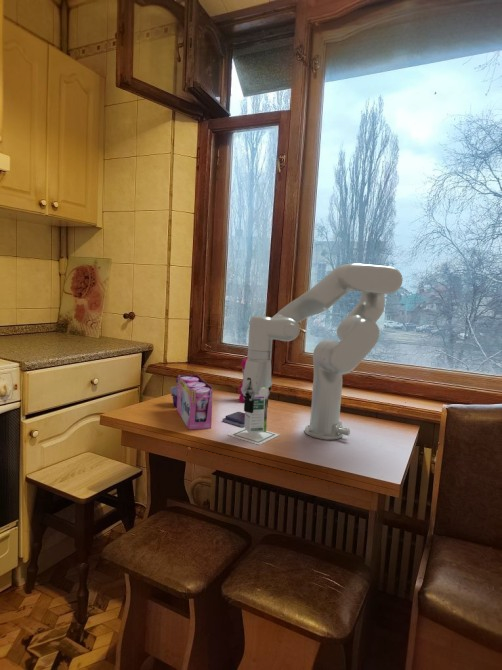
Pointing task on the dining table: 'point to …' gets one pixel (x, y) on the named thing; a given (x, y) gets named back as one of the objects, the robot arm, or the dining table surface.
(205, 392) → the gum box
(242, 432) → the marked card
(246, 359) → the pepper mill
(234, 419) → the ink pad
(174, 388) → the potion bottle
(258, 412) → the syrup box
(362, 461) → the dining table surface
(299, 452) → the dining table surface
